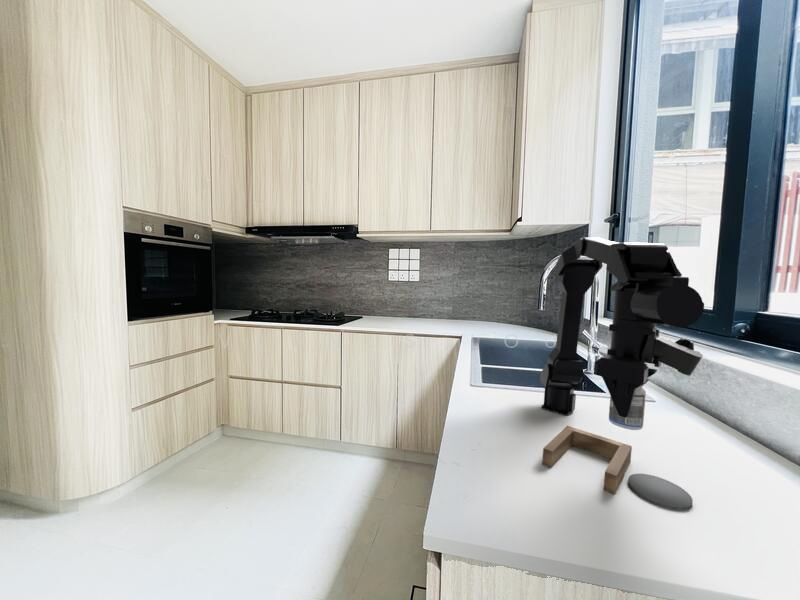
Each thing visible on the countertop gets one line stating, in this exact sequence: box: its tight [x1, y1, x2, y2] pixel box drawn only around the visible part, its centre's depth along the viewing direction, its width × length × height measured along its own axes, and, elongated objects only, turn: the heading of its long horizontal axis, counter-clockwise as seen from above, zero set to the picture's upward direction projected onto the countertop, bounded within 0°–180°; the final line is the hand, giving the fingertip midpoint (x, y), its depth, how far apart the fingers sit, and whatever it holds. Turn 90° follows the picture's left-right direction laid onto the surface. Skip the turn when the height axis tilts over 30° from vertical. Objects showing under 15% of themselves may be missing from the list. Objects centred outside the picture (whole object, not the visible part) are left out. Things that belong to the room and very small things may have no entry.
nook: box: [541, 425, 633, 495], centre depth 59 cm, size 11×14×3 cm
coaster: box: [627, 473, 693, 511], centre depth 51 cm, size 8×8×1 cm
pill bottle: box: [608, 385, 647, 431], centre depth 53 cm, size 5×5×8 cm
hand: (626, 412), depth 53 cm, fingers closed on pill bottle, 5 cm apart
